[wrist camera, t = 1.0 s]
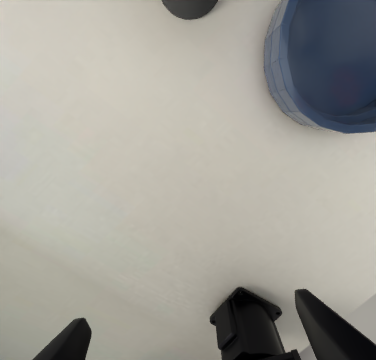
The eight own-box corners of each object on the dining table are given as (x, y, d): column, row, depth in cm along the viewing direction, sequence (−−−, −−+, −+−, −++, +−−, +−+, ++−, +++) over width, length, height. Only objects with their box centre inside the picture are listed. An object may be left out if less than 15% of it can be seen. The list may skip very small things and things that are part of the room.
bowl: (460, 19, 16) (540, -9, 12) (339, 154, 19) (373, 164, 15) (339, -94, 14) (390, -166, 10) (231, 77, 17) (241, 68, 14)
